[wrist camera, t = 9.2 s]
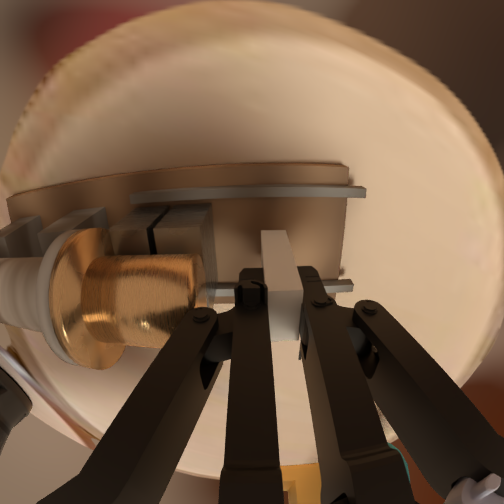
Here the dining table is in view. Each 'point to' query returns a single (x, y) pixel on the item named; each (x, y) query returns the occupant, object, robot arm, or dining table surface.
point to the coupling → (132, 281)
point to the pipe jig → (169, 193)
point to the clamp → (302, 483)
